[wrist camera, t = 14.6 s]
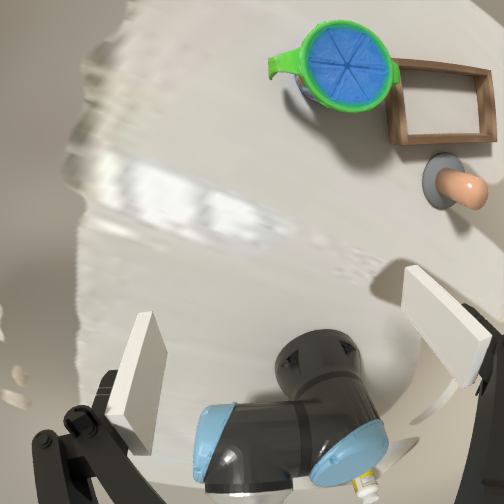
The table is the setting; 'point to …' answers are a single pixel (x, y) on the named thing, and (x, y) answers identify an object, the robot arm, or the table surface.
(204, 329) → the table surface
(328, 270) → the table surface
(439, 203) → the slate coaster
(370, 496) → the supplement bottle
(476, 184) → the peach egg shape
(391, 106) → the tray
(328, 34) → the snack cup
